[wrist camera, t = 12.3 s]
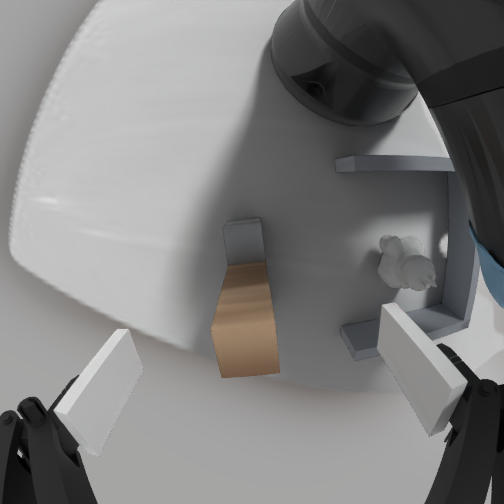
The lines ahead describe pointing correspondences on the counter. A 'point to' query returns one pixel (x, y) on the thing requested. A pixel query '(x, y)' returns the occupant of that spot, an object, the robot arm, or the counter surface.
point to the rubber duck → (405, 264)
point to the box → (457, 266)
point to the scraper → (245, 306)
